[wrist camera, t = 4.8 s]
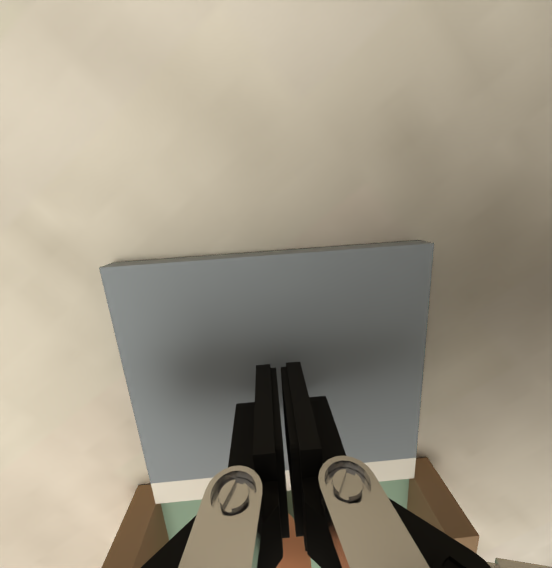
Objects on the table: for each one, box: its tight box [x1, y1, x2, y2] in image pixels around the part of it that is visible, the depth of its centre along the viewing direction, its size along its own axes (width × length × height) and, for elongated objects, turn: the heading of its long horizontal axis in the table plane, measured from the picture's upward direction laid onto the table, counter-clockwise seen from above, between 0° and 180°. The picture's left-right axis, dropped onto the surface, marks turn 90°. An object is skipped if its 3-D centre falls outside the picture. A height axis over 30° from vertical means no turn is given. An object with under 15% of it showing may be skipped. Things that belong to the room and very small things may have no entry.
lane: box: [99, 240, 479, 568], centre depth 12 cm, size 14×22×4 cm, turn 4°
